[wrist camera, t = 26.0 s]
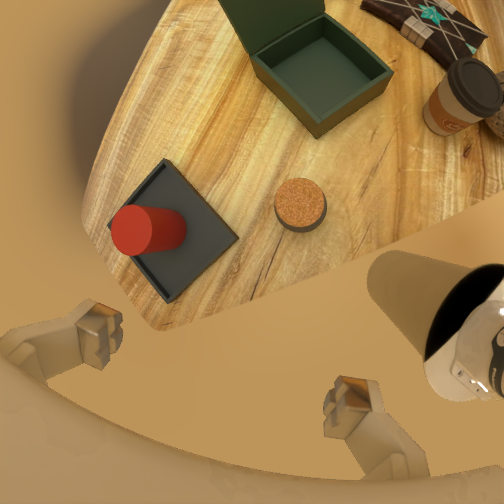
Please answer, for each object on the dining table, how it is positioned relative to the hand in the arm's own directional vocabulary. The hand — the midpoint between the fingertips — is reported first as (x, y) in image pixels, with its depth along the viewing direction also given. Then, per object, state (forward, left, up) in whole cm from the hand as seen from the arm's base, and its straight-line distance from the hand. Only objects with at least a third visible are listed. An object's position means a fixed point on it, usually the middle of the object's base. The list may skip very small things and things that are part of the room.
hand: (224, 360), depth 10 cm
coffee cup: (0, -34, -34) cm, 48 cm away
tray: (+16, +11, -34) cm, 39 cm away
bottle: (+4, -6, -34) cm, 35 cm away
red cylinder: (+16, +10, -33) cm, 38 cm away
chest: (+17, -23, -34) cm, 44 cm away
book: (+14, -51, -34) cm, 63 cm away
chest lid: (+25, -24, -19) cm, 40 cm away
